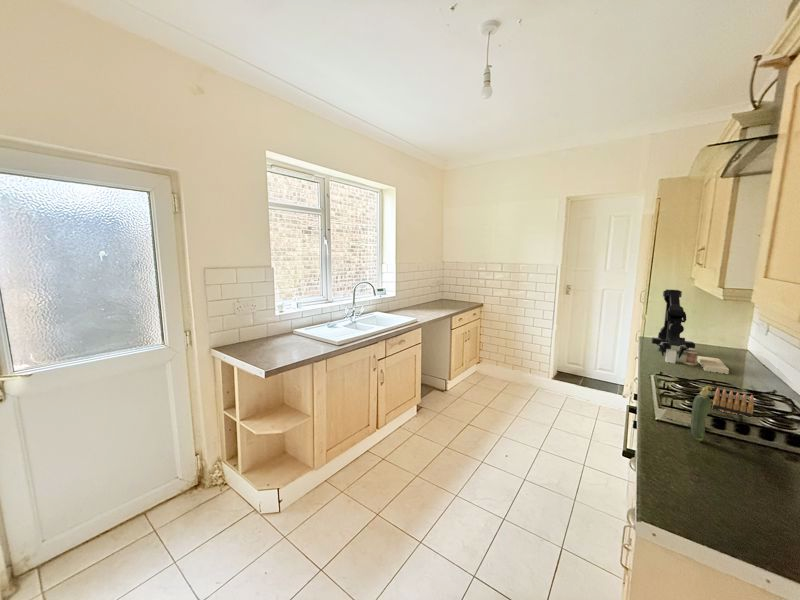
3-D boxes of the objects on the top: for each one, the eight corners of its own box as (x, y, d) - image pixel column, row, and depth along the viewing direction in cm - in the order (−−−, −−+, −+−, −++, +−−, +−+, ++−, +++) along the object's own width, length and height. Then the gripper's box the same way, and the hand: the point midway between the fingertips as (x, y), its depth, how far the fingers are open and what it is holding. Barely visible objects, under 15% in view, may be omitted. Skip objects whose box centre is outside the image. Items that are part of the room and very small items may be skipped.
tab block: (665, 360, 187) (666, 348, 186) (674, 361, 185) (675, 350, 184) (666, 362, 184) (667, 350, 183) (675, 363, 182) (676, 351, 181)
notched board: (697, 360, 187) (697, 355, 187) (718, 363, 182) (718, 358, 182) (704, 370, 171) (705, 366, 170) (728, 374, 166) (728, 369, 165)
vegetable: (685, 437, 111) (692, 383, 108) (692, 434, 112) (700, 380, 109) (701, 444, 107) (709, 388, 103) (708, 441, 108) (716, 385, 105)
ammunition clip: (750, 425, 118) (756, 394, 116) (751, 427, 117) (756, 396, 115) (710, 414, 125) (715, 386, 124) (710, 416, 124) (714, 387, 122)
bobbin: (682, 361, 186) (683, 348, 184) (696, 363, 182) (697, 349, 181) (684, 364, 181) (685, 350, 179) (698, 366, 177) (700, 352, 176)
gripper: (654, 331, 180) (651, 357, 182) (698, 335, 170) (695, 363, 172) (652, 327, 190) (649, 353, 191) (694, 331, 179) (691, 358, 181)
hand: (670, 357), depth 184 cm, fingers open, 7 cm apart
